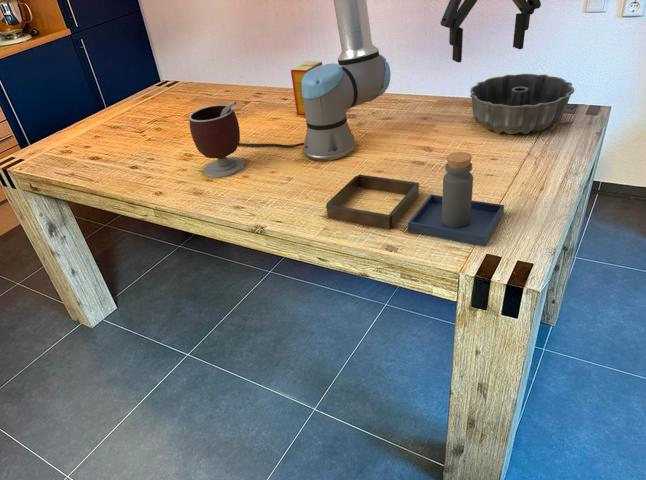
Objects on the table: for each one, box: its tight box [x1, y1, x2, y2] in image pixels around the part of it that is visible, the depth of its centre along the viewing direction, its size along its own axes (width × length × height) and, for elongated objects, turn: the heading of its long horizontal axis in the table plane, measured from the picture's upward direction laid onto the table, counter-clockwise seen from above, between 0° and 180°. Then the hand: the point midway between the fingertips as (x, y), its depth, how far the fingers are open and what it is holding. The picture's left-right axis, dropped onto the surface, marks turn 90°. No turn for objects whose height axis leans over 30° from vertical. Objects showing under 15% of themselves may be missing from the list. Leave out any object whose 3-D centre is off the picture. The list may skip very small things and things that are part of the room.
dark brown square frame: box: [325, 174, 420, 230], centre depth 120 cm, size 17×17×3 cm
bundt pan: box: [469, 73, 575, 135], centre depth 143 cm, size 26×26×10 cm
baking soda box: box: [290, 61, 323, 117], centre depth 177 cm, size 10×6×16 cm
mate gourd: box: [188, 101, 245, 178], centre depth 147 cm, size 16×14×20 cm
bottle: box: [441, 151, 474, 228], centre depth 105 cm, size 6×6×15 cm
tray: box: [407, 193, 505, 247], centre depth 109 cm, size 16×13×2 cm
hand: (487, 54), depth 108 cm, fingers open, 13 cm apart
